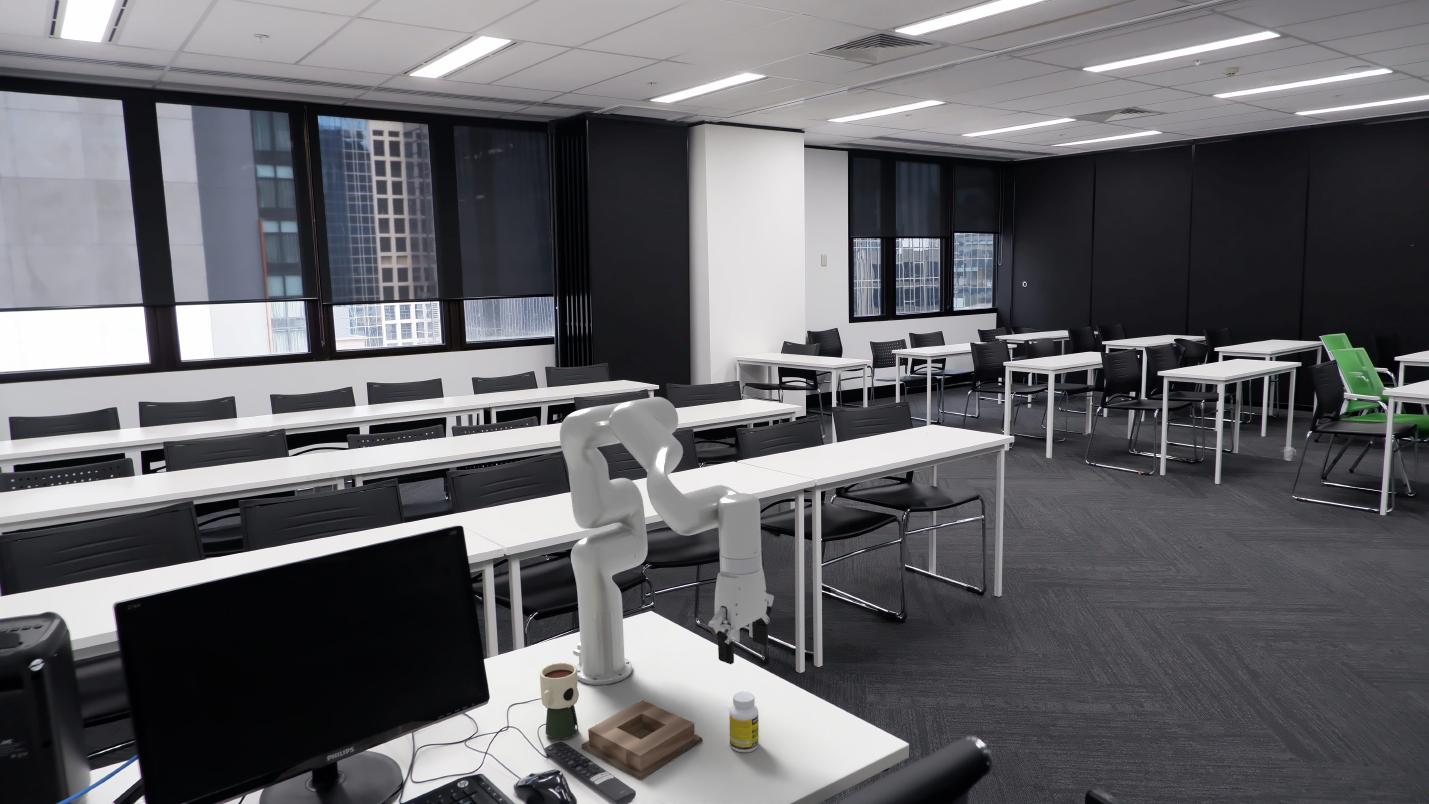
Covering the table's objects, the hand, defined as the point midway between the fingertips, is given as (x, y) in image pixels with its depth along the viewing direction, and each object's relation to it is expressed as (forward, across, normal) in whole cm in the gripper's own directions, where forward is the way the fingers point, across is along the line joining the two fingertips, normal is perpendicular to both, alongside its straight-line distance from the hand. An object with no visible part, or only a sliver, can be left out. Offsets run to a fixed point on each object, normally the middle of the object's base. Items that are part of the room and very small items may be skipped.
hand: (743, 652), depth 157 cm
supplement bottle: (+19, 0, -1) cm, 19 cm away
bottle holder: (+18, +12, -16) cm, 27 cm away
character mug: (+18, +19, -31) cm, 40 cm away
